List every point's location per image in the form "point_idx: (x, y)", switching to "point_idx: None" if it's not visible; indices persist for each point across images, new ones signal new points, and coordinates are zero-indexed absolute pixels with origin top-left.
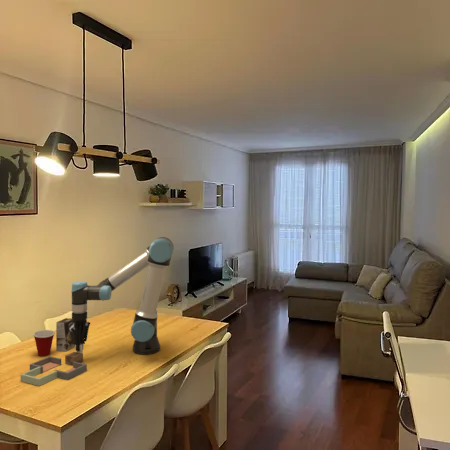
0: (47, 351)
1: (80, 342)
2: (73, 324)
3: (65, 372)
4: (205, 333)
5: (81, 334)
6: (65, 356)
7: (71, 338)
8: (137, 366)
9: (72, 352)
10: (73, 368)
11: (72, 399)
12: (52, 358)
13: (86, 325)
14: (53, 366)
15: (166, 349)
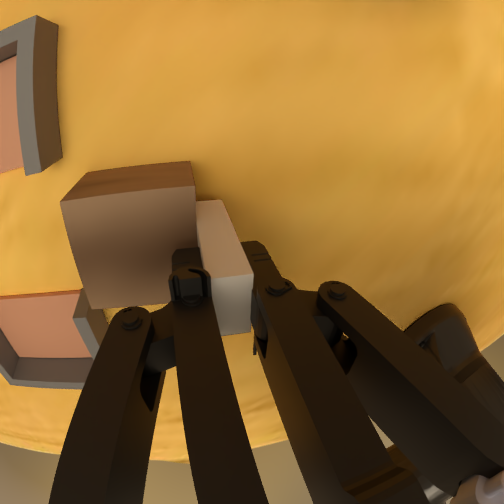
0: None
1: (256, 317)
2: None
3: (4, 373)
4: (493, 338)
5: (297, 445)
6: (64, 201)
7: (77, 411)
8: (273, 423)
9: (162, 190)
10: (76, 304)
11: (14, 424)
12: (19, 76)
13: (461, 491)
14: (3, 161)
15: None
